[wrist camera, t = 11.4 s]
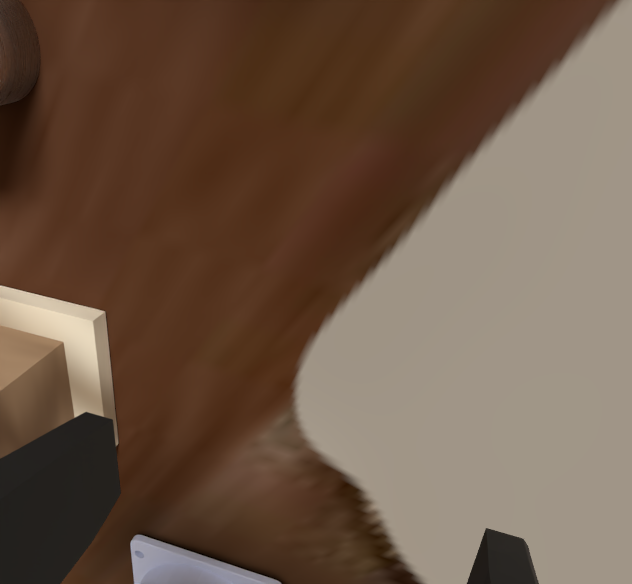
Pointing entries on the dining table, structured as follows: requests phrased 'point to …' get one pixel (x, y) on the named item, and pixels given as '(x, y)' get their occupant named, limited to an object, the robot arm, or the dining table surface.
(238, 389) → the dining table surface
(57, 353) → the walnut block
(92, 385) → the birch pad
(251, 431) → the dining table surface
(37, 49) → the round canister
